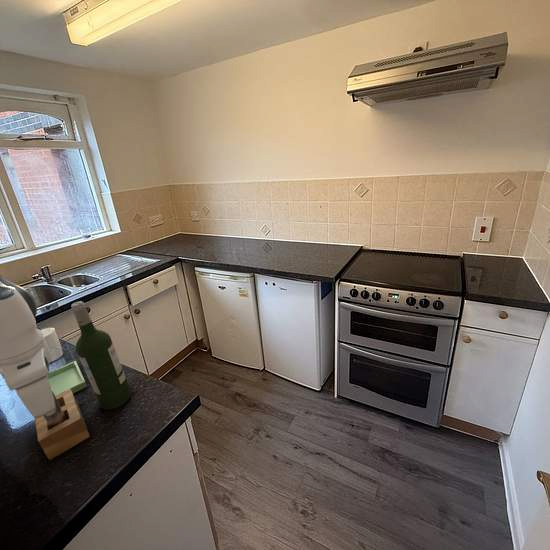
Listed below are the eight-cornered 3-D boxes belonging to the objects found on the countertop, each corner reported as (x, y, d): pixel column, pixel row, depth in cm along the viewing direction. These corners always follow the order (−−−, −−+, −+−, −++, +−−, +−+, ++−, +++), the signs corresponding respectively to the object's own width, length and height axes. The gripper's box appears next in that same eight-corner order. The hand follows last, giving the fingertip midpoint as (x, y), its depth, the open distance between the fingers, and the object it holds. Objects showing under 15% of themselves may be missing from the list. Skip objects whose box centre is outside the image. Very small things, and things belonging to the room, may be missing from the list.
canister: (52, 439, 71) (31, 401, 66) (64, 427, 74) (45, 389, 70) (63, 441, 70) (42, 402, 66) (75, 429, 73) (56, 391, 69)
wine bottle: (137, 394, 84) (101, 298, 73) (110, 414, 78) (66, 314, 67) (122, 385, 88) (85, 294, 77) (95, 404, 82) (52, 308, 71)
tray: (37, 383, 94) (35, 378, 93) (77, 365, 101) (75, 360, 100) (42, 408, 83) (39, 403, 82) (87, 386, 90) (84, 381, 89)
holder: (42, 424, 78) (32, 406, 75) (78, 405, 82) (70, 388, 80) (49, 460, 67) (38, 441, 65) (89, 436, 72) (80, 418, 70)
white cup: (38, 358, 108) (26, 334, 104) (64, 348, 112) (53, 325, 109) (40, 367, 102) (27, 343, 98) (66, 356, 107) (55, 332, 103)
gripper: (5, 346, 69) (29, 393, 74) (6, 388, 55) (37, 443, 60) (37, 334, 73) (59, 379, 78) (47, 371, 58) (73, 423, 63)
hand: (49, 407), depth 69 cm, fingers closed on canister, 3 cm apart
